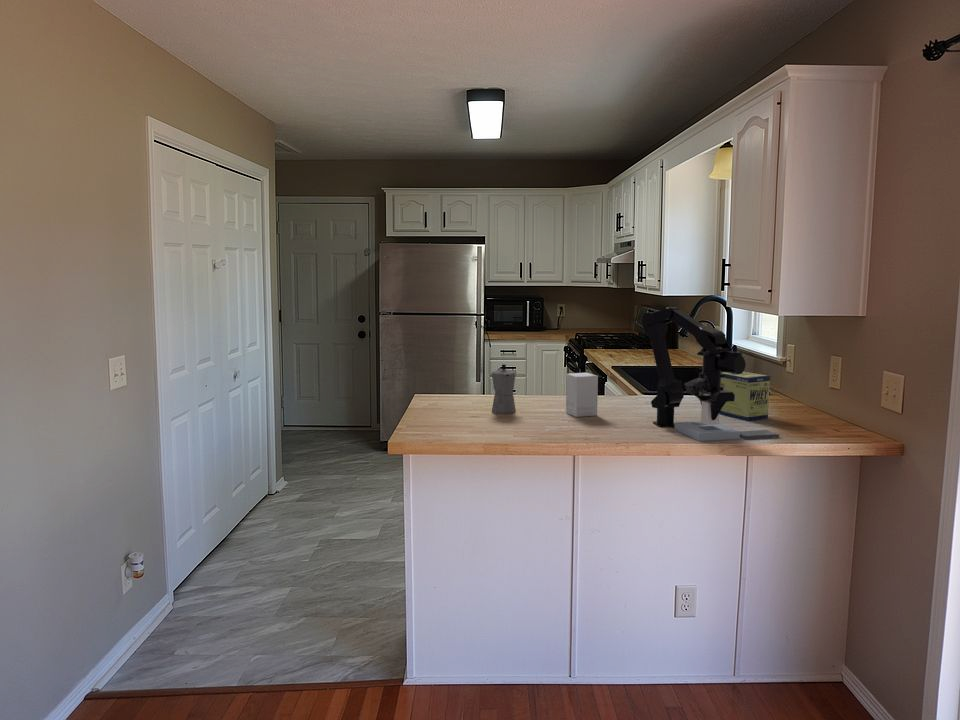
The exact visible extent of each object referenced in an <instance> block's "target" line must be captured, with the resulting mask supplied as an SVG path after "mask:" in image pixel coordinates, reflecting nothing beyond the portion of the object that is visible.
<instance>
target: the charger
mask: <svg viewBox="0 0 960 720" xmlns="http://www.w3.org/2000/svg"><path fill="white" fill-rule="evenodd" d="M700 415H701V417H700V421H701V422H702V423H704V424H706V425H715V424H719V423H720V414H718V416H717V418H716V419H715V420H712V419H711V406H710V403H709V402H708V401H702V405H701V412H700Z"/></svg>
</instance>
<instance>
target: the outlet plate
mask: <svg viewBox="0 0 960 720" xmlns="http://www.w3.org/2000/svg"><path fill="white" fill-rule="evenodd" d="M674 423H675V426H674V430H675V431H677V432H679V433H681V434H683V435H686V436H687V437H690V438H692V439H694V440H696V441H698V442H705V441H707V442H708V441H721V440H725V441H726V440H739V439H741V438H740V431H741V430H737V429H735V428H732V427H731V426H728V425H726V424H723V423H721V422H719V424H715V425H706V424H704V423H702V422H701V420H698V421H697V420H696V421H678V422H675V421H674Z"/></svg>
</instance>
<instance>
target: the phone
mask: <svg viewBox="0 0 960 720" xmlns="http://www.w3.org/2000/svg"><path fill="white" fill-rule="evenodd" d="M739 431H740V439H743V440H759V439H758V438H763V439H774V438H773V437H779V438H780V434H779V433H776V432H773V431H770V430H768V429H761V430H760V429H759V430H757V429H756V430H743V431H742V430H739Z"/></svg>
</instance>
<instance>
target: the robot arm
mask: <svg viewBox="0 0 960 720" xmlns="http://www.w3.org/2000/svg"><path fill="white" fill-rule="evenodd" d="M669 323H674V324H675V325H677V326H678V327H680V328H681V329H683V330H685V331H686V333H689V334H690V335H691V336H693V337H694V339H695V341H696V343H697V344H699V345H700V347H702V348H701V349H700V351H698V352H697V353H696V354H697V356H702V371H701V372H699V373H698V377H697V378H694V379H691V380H689V381H687V382H684V384H683V381H682V380H677V379H676V377H675V375H674V370H673V366H672V361H671V357H670V352H669V349H668V344H667V340H666V334H667V332H668V324H669ZM640 324H641V326H642V328H643V329H642V330H643V332H644V333H645V335H646V336H647V337H648V338H649V339H650V343H651V344H650V345H651V348H652V351H653V358H654V361H655V365H656V370H657V375H658V379H659V380H658V383H657V386H656V392H657V394H656V396H655V397H654V398H653V399H652V400H651V401H650V403H651V407H652V408H654V409H656V421H652V424H654V425H655V426H658V427H660V428H663V427H664V428H666V427H667V428H668V427H675V408H679V407H680V405H681V402H682V401H683V399H684V397H685V396H684V393H685V390H686V393H687V394H690V395H692V396H694V397H696V399H698V400H699V402H700V406H702V401H708V402H709V403H710V406H711V419H712V420H715V419H716V418H717V416H718V414H719V412H720V411H721V409H722V407H723V406H724V404H725V403H726V402H728V401H735V394H734V393H733V392H731V391H727V390H723V387H721V378H724V374H721V372H726V373H733V374H742V373H743V372H745V369H746V365H747V363H746V360H745V358H744V356H743V354H742V352H741V351H734V350H733V349H732V347H731V345H730V343H729V341H728V340H727V338H726V337H727V336H726V333H724V332H723V331H722V330H719V329H717V328H714V327H710V326H706V325H704V324H703V323H701V322H699V321H698V320H696V319H695V318H693V317H692V316H690V315H689V314H687V313H685V312H684V311H683V310H681V308H679V307H677V306H673V307H671V306H670V307H665V308H663V309H660V310H658V311H655V312H654V311H653V312H652V311H651V312H650V311H649V312H645V313H644V314H643V315H642V317H641V320H640ZM683 386H684V387H683ZM684 388H685V389H684ZM719 390H720V391H719ZM719 415H720V414H719Z"/></svg>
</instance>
